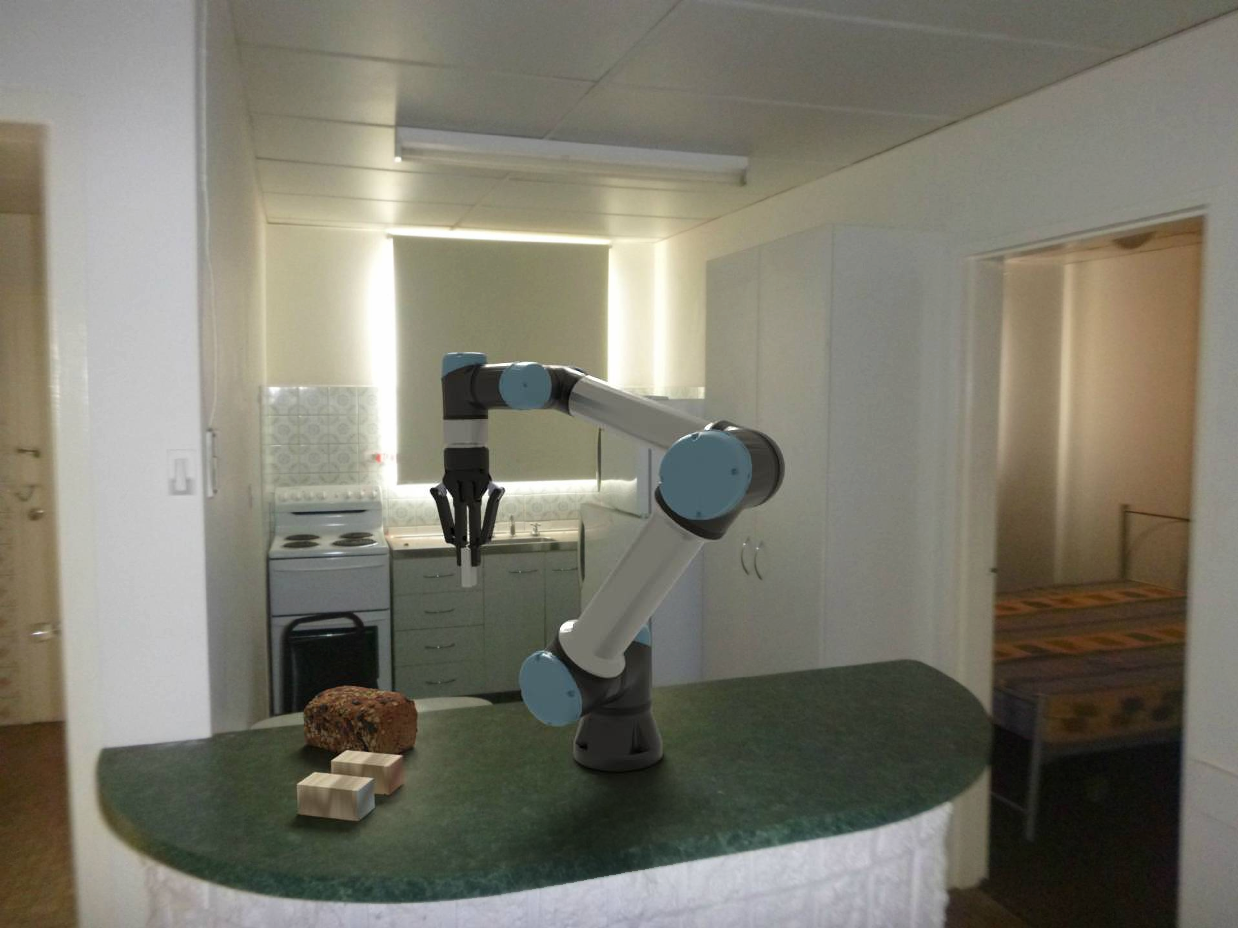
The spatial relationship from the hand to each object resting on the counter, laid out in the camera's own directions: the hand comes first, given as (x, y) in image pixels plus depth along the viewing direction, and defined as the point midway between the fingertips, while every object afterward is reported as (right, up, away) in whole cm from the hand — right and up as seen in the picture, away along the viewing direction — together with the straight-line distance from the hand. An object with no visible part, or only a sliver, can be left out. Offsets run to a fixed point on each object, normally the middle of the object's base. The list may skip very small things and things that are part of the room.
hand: (469, 585), depth 151 cm
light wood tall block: (-9, -28, -11) cm, 32 cm away
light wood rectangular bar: (-12, -29, -20) cm, 37 cm away
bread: (-21, -30, +7) cm, 37 cm away
